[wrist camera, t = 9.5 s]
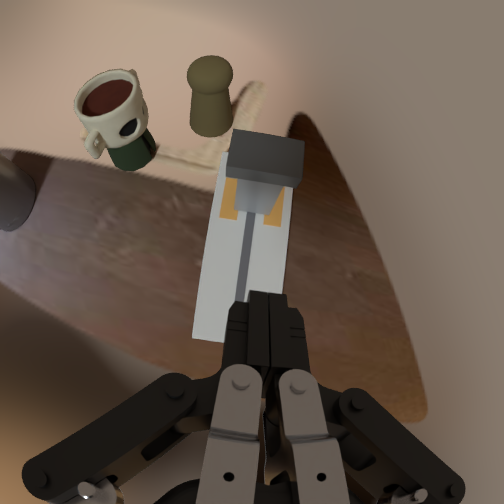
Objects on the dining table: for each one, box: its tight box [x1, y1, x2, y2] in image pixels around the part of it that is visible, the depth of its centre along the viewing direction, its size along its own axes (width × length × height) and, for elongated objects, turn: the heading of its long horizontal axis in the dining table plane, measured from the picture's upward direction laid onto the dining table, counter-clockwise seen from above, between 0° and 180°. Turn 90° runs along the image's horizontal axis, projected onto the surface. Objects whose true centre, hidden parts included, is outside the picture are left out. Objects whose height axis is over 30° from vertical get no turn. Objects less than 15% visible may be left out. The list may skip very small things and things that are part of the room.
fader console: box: [192, 152, 293, 343], centre depth 33 cm, size 22×9×2 cm, turn 173°
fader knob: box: [226, 129, 305, 215], centre depth 28 cm, size 4×6×11 cm, turn 83°
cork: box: [187, 55, 233, 137], centre depth 32 cm, size 6×6×11 cm
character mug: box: [74, 69, 156, 171], centre depth 29 cm, size 11×7×13 cm, turn 165°
